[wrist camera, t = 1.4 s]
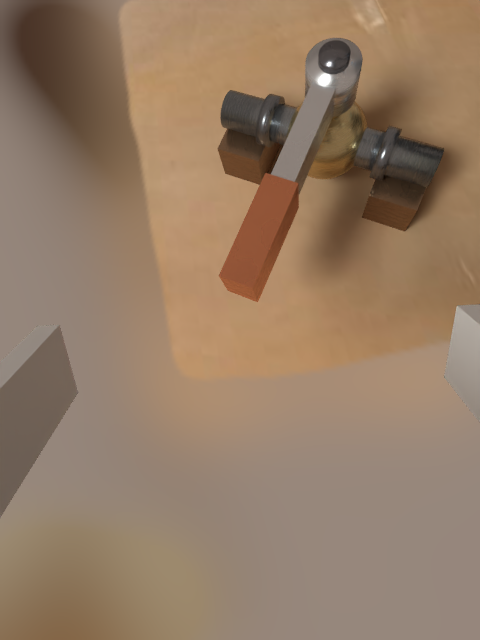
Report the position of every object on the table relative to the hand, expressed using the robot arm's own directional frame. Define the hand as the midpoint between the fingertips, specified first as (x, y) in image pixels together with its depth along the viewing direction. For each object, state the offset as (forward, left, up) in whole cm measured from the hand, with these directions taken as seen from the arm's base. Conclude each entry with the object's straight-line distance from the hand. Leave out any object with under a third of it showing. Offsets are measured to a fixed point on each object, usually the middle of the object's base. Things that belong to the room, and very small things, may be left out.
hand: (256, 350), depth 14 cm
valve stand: (-4, -20, -23) cm, 31 cm away
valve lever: (-1, -14, -13) cm, 19 cm away
